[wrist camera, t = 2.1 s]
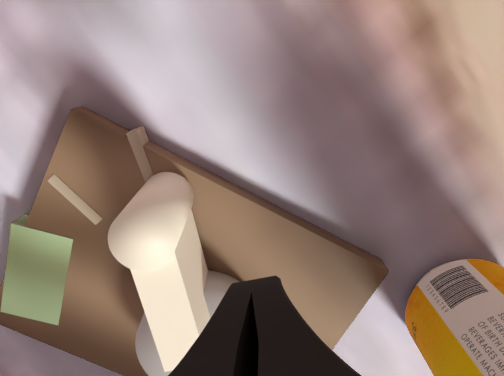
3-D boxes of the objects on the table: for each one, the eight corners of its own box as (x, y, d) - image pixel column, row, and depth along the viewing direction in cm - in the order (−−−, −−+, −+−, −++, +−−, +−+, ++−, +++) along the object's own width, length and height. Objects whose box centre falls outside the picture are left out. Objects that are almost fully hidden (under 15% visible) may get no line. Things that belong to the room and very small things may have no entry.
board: (268, 418, 25) (269, 436, 24) (-10, 301, 22) (-25, 315, 21) (387, 251, 21) (395, 263, 20) (73, 89, 19) (61, 92, 18)
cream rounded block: (271, 357, 22) (276, 438, 17) (163, 376, 22) (140, 459, 17) (225, 159, 18) (216, 193, 14) (98, 184, 19) (49, 226, 14)
